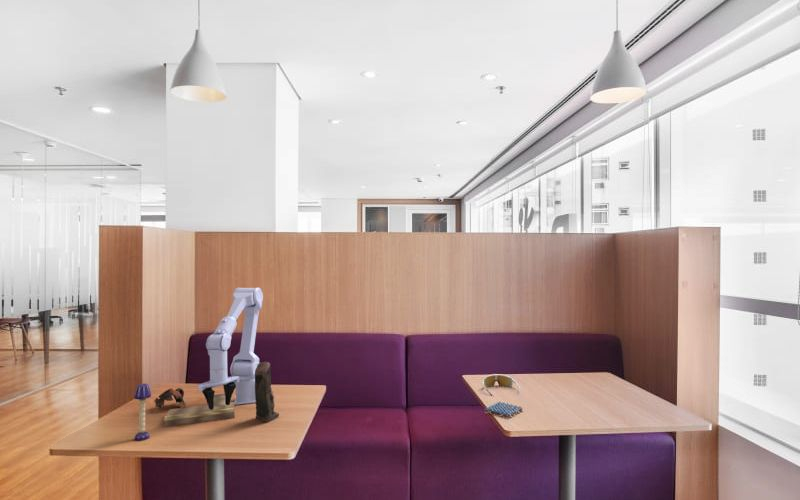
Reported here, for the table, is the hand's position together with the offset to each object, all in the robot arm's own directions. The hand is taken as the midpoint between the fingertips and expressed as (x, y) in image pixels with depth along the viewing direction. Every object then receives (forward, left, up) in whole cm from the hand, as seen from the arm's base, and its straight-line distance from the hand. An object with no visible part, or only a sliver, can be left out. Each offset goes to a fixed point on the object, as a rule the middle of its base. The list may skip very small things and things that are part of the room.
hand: (219, 406), depth 162 cm
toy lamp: (+22, +11, -4) cm, 25 cm away
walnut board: (+6, -3, -3) cm, 7 cm away
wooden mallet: (0, -3, -1) cm, 3 cm away
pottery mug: (+17, -18, -4) cm, 25 cm away
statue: (-15, +9, -4) cm, 18 cm away
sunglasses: (-107, +12, -4) cm, 108 cm away
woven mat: (-94, +34, -4) cm, 100 cm away
